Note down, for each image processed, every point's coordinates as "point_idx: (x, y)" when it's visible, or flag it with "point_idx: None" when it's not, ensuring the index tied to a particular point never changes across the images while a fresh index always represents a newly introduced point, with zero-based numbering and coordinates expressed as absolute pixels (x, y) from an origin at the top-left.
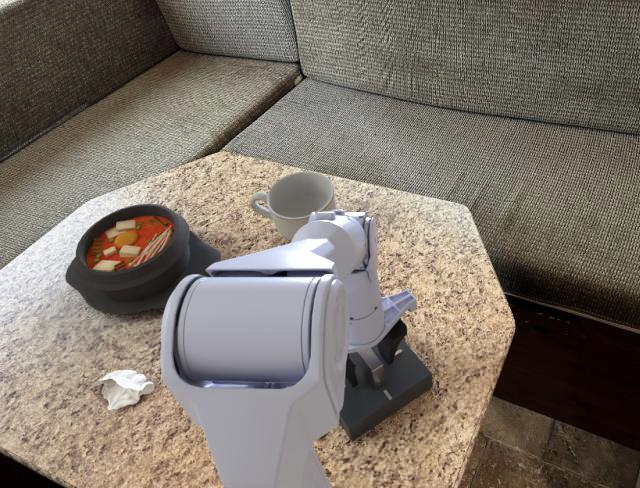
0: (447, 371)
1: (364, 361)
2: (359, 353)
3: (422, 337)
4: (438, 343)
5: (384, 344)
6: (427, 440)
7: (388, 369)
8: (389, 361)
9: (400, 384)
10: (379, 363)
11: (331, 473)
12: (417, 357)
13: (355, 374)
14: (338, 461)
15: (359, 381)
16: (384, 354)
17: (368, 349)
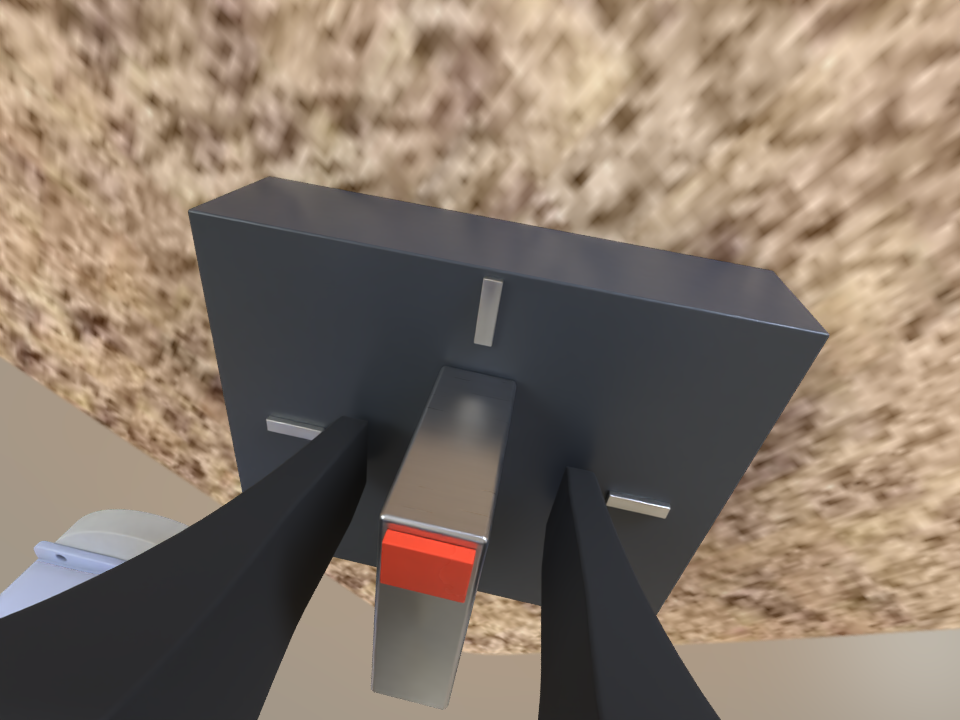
0: (727, 549)
1: (373, 644)
2: (378, 613)
3: (847, 406)
4: (847, 472)
5: (555, 666)
6: (479, 595)
7: (536, 514)
8: (542, 577)
9: (517, 578)
10: (432, 701)
11: (204, 477)
12: (679, 571)
13: (298, 620)
14: (235, 471)
15: (391, 462)
16: (553, 554)
17: (444, 637)
